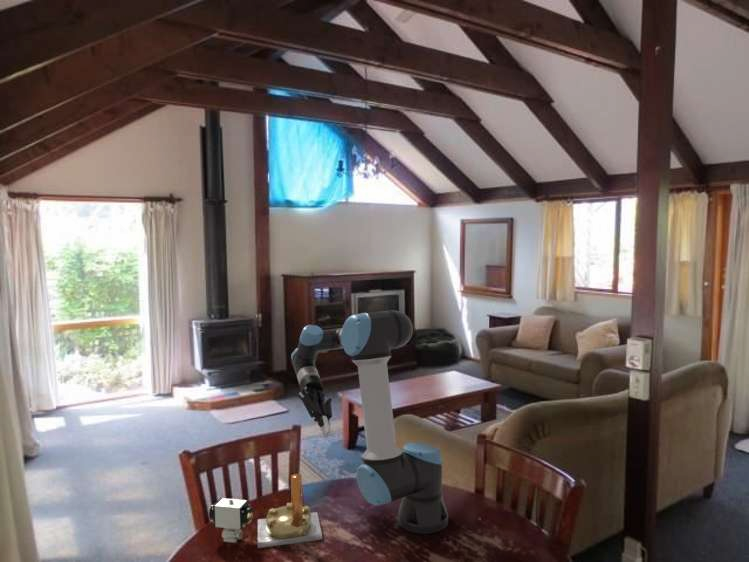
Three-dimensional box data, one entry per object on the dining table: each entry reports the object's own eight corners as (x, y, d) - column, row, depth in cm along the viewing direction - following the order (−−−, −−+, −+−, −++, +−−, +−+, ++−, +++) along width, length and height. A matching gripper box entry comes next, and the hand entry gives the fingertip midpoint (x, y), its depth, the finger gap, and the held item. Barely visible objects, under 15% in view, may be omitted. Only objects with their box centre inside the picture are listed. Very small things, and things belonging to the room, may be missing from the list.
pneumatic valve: (247, 546, 146) (246, 504, 145) (209, 542, 148) (207, 501, 147) (256, 535, 151) (254, 495, 150) (219, 532, 153) (217, 492, 153)
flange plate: (317, 516, 161) (317, 512, 161) (322, 539, 149) (322, 534, 149) (257, 524, 157) (257, 519, 157) (257, 548, 145) (257, 542, 145)
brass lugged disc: (320, 528, 151) (318, 471, 150) (279, 544, 143) (277, 484, 142) (298, 510, 162) (296, 457, 161) (259, 523, 154) (257, 468, 153)
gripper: (318, 394, 187) (336, 445, 168) (288, 385, 179) (304, 438, 161) (330, 379, 184) (350, 430, 166) (300, 369, 177) (317, 421, 159)
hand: (327, 434), depth 164 cm, fingers closed
